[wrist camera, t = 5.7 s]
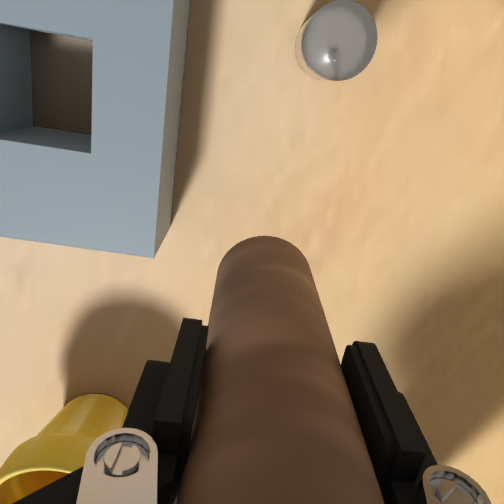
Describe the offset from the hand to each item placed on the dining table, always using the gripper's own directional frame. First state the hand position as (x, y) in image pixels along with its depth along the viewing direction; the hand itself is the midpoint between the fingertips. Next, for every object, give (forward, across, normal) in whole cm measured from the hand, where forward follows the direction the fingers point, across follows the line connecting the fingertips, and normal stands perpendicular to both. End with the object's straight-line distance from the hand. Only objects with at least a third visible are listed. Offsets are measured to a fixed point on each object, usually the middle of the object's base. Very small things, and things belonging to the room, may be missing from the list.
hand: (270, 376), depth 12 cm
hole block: (+21, +13, -6) cm, 25 cm away
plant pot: (+21, +11, +23) cm, 34 cm away
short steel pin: (+21, -3, -10) cm, 24 cm away
